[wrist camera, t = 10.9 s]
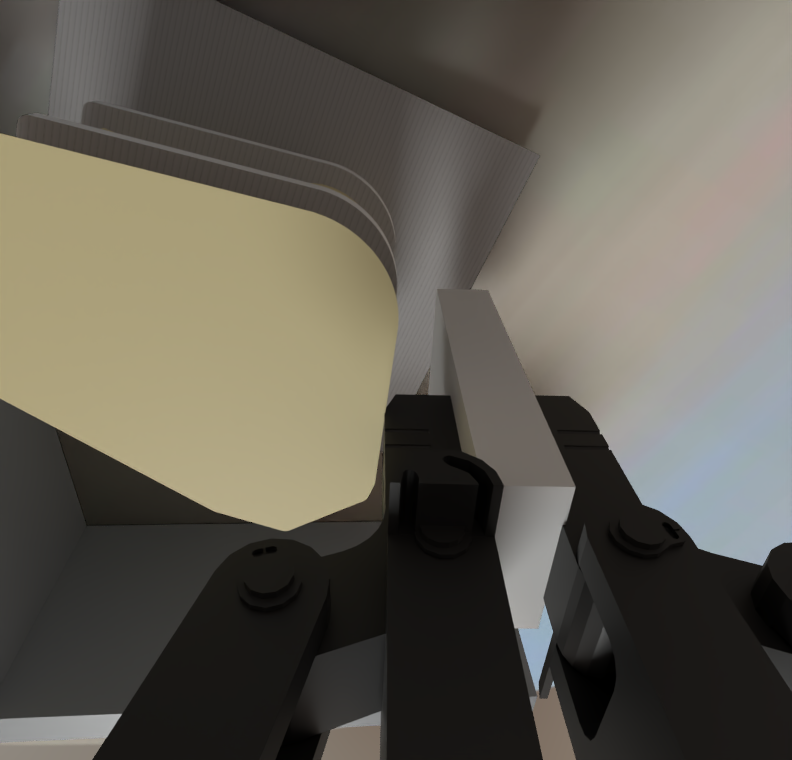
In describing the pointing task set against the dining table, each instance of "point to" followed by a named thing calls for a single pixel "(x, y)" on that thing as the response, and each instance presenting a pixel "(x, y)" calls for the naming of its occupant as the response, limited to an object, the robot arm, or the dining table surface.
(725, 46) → the dining table surface
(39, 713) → the box
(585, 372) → the dining table surface
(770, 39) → the dining table surface
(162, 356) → the stacked layers on plate
